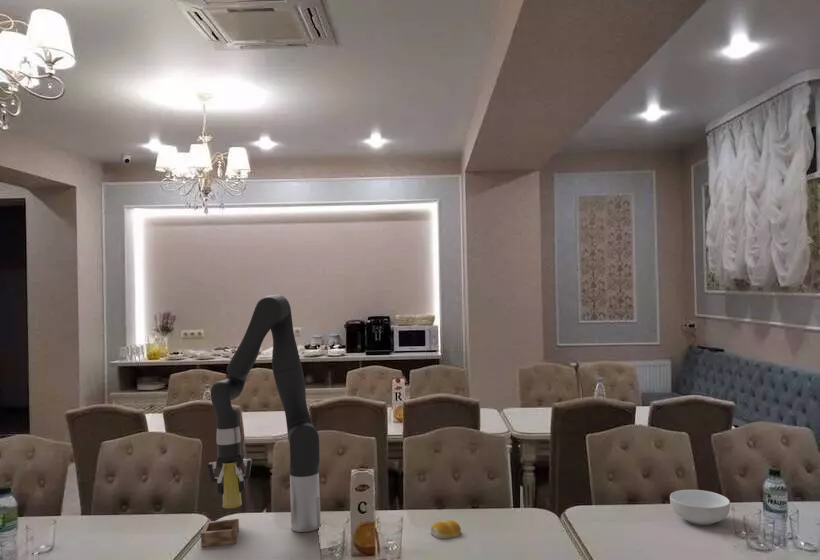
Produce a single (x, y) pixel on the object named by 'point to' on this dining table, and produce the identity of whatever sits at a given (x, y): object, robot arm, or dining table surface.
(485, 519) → the dining table surface
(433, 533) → the bread roll
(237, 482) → the vase
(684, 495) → the cereal bowl
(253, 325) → the robot arm
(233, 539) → the socket block
